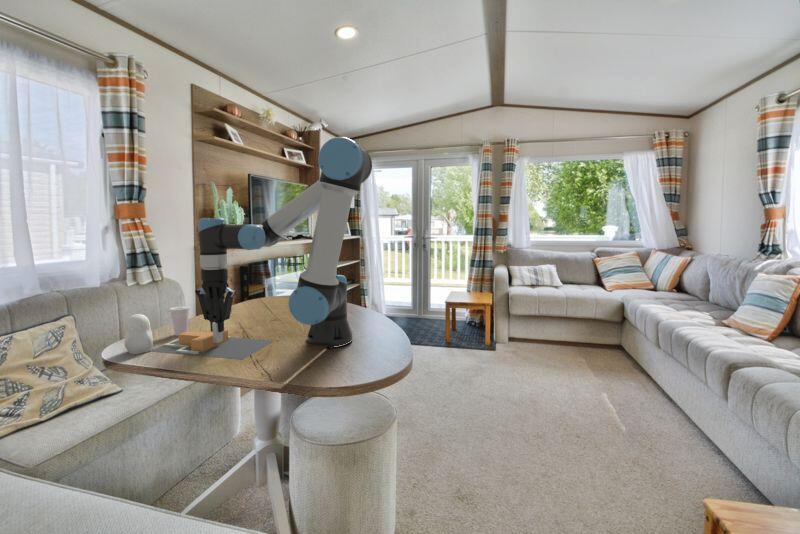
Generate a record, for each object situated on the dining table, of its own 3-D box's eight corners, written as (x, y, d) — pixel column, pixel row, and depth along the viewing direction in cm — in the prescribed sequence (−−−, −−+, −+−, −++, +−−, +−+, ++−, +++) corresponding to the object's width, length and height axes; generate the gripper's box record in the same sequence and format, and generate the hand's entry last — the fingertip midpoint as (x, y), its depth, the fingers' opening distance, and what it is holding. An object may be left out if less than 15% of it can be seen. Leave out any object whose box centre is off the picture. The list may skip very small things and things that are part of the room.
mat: (275, 343, 127) (275, 340, 127) (242, 362, 109) (242, 359, 109) (191, 337, 133) (191, 334, 133) (148, 354, 116) (148, 351, 115)
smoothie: (182, 337, 133) (179, 298, 131) (166, 336, 134) (163, 297, 132) (195, 332, 139) (193, 294, 137) (180, 331, 140) (177, 293, 138)
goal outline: (231, 338, 129) (230, 336, 129) (197, 354, 113) (197, 352, 113) (191, 335, 132) (191, 333, 132) (153, 350, 116) (153, 348, 116)
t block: (228, 340, 127) (227, 329, 126) (203, 352, 115) (202, 340, 115) (196, 337, 129) (196, 327, 129) (169, 349, 117) (168, 338, 117)
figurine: (124, 356, 114) (121, 317, 112) (128, 349, 120) (125, 312, 119) (152, 353, 117) (149, 315, 115) (154, 345, 124) (152, 309, 122)
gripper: (240, 267, 120) (243, 339, 123) (204, 266, 123) (208, 336, 126) (225, 270, 113) (228, 346, 116) (187, 268, 115) (191, 343, 118)
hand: (218, 341), depth 121 cm, fingers closed
